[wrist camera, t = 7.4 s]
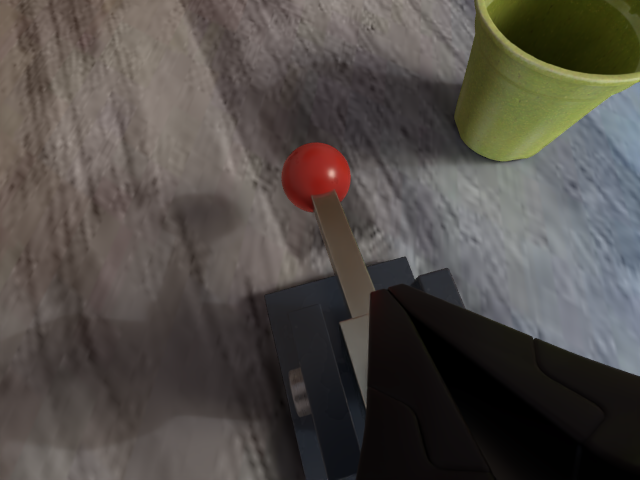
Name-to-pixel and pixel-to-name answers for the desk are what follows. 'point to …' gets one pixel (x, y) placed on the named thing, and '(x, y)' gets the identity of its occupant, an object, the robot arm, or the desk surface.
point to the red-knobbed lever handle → (335, 246)
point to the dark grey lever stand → (331, 364)
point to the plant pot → (543, 70)
